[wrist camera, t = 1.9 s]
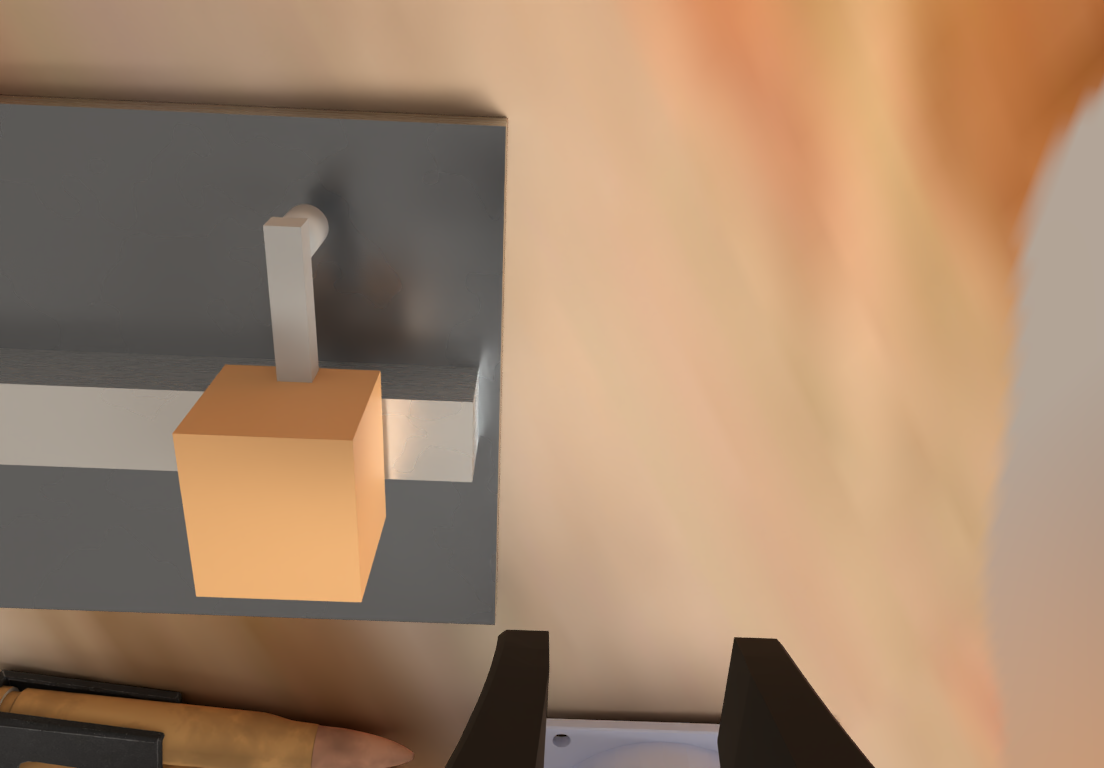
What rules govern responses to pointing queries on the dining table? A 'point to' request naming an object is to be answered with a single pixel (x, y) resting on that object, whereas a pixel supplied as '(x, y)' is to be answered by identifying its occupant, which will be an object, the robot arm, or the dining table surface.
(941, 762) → the dining table surface
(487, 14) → the dining table surface
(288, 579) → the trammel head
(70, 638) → the dining table surface
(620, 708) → the dining table surface
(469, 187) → the grey slotted base plate
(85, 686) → the ammunition clip
